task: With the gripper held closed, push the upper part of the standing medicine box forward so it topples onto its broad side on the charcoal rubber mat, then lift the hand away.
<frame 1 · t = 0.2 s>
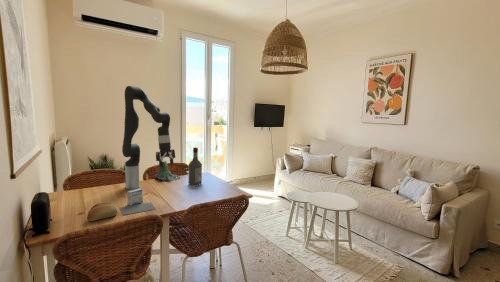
hand: (166, 165, 168), 22 cm above the table, tool pointing down, fingers open, 8 cm apart
tree stump: (167, 178, 215), on the table
medicine box: (135, 203, 158), on the table, touching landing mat
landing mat: (137, 208, 151), on the table
liquor: (194, 184, 203), on the table
bread roll: (102, 218, 137), on the table
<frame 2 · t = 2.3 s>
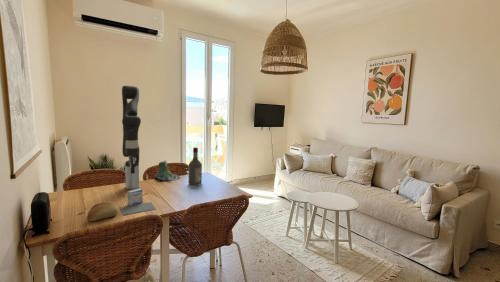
hand: (132, 173, 161), 18 cm above the table, tool pointing down, fingers closed
nothing on the table moved.
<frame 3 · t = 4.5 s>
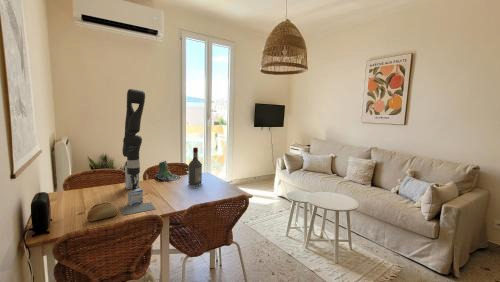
hand: (133, 192, 161), 6 cm above the table, tool pointing down, fingers closed
medicine box: (135, 203, 158), on the table, touching gripper, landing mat
everything else where it was.
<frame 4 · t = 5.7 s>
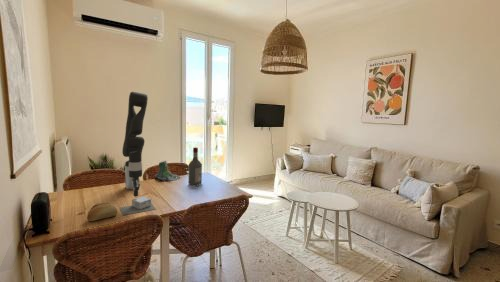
hand: (135, 195, 154), 6 cm above the table, tool pointing down, fingers closed
medicine box: (137, 200, 156), point 3 cm above the table, touching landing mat
everything else where it was.
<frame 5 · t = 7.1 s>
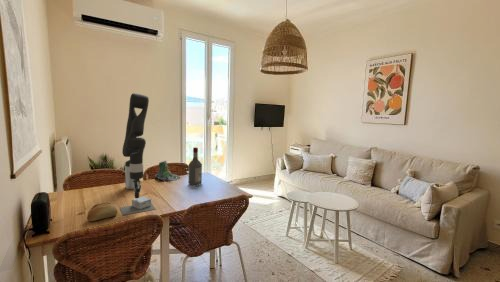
hand: (136, 197, 152), 6 cm above the table, tool pointing down, fingers closed
nothing on the table moved.
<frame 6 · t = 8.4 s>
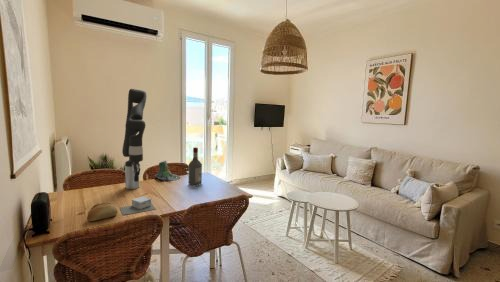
hand: (136, 181, 150), 17 cm above the table, tool pointing down, fingers closed
nothing on the table moved.
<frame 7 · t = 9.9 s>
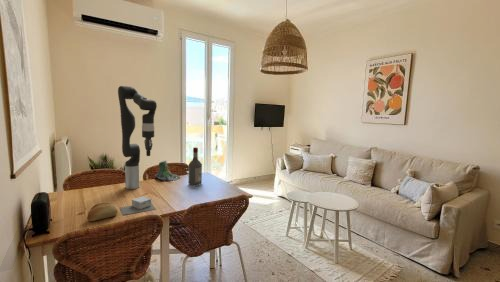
hand: (148, 155, 166), 29 cm above the table, tool pointing down, fingers closed
nothing on the table moved.
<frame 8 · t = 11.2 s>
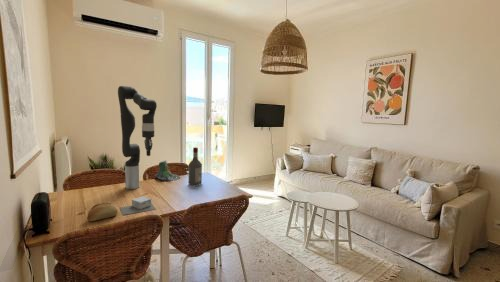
hand: (148, 155, 166), 29 cm above the table, tool pointing down, fingers closed
nothing on the table moved.
at the end: medicine box tilted 90°; medicine box touching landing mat; medicine box inside the target area (1.4 cm from its centre), point 2.5 cm above the table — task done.
